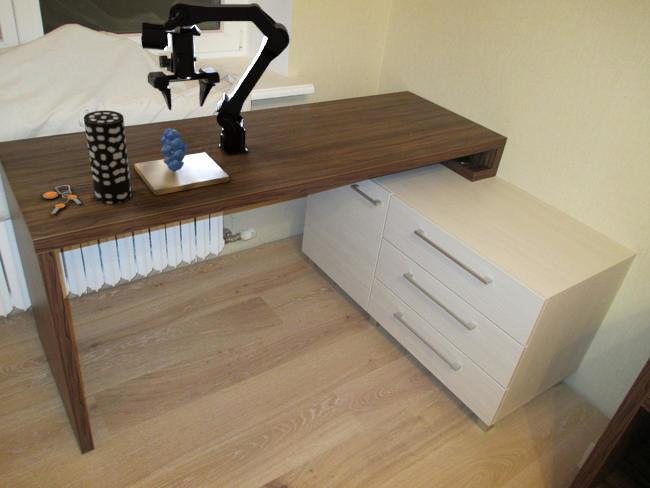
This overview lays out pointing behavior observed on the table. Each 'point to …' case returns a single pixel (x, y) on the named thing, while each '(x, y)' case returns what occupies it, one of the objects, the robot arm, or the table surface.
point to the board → (181, 174)
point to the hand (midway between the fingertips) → (185, 107)
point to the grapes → (173, 149)
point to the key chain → (70, 197)
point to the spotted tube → (108, 156)
